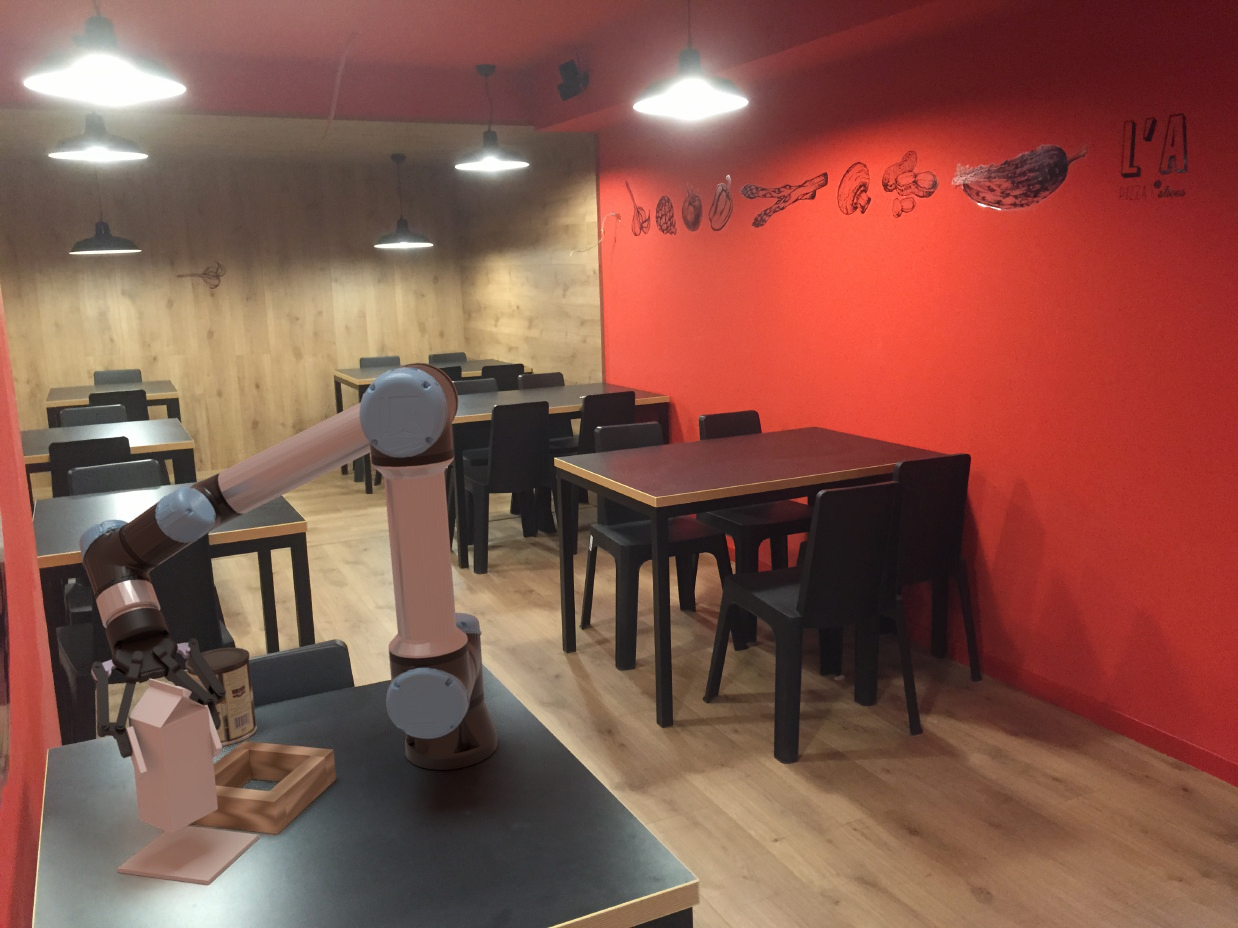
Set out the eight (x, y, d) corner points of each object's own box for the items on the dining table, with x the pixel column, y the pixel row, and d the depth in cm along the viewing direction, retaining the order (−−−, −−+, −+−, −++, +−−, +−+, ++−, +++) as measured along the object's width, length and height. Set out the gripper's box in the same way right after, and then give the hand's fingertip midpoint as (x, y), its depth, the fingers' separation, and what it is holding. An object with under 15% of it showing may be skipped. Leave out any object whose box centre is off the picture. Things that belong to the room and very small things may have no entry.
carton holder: (336, 778, 153) (333, 749, 152) (277, 834, 137) (274, 801, 136) (247, 769, 157) (244, 740, 156) (180, 822, 141) (177, 790, 140)
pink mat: (258, 838, 136) (258, 834, 136) (208, 884, 126) (207, 880, 126) (173, 827, 140) (173, 824, 140) (117, 872, 129) (117, 868, 129)
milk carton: (171, 834, 127) (157, 698, 124) (139, 820, 131) (124, 687, 127) (218, 810, 133) (206, 679, 130) (186, 797, 137) (173, 669, 133)
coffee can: (212, 720, 176) (204, 646, 173) (267, 721, 174) (259, 647, 172) (182, 746, 165) (172, 669, 163) (239, 747, 164) (231, 669, 162)
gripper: (207, 615, 146) (256, 749, 137) (45, 652, 132) (88, 804, 123) (215, 589, 141) (267, 726, 132) (48, 625, 128) (93, 780, 118)
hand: (181, 763), depth 128 cm, fingers closed on milk carton, 9 cm apart
